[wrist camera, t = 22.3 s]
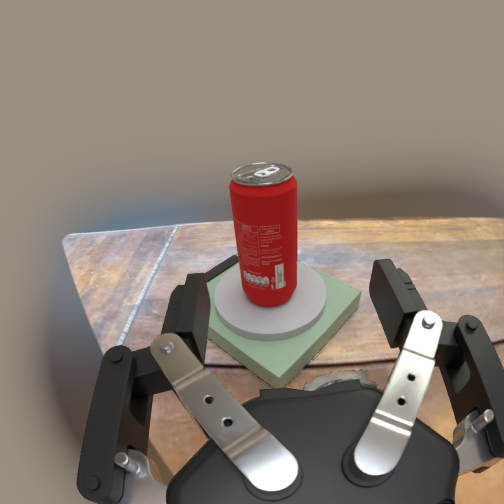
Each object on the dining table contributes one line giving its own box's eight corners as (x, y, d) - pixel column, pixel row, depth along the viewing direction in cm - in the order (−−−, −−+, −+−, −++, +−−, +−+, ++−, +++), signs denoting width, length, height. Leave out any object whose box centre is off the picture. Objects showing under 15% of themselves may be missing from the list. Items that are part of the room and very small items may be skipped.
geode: (396, 413, 20) (403, 404, 19) (312, 461, 18) (314, 455, 17) (354, 360, 26) (357, 348, 25) (275, 396, 24) (274, 386, 23)
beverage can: (232, 293, 30) (214, 175, 23) (269, 268, 33) (261, 157, 26) (270, 319, 27) (262, 191, 20) (307, 289, 29) (310, 169, 22)
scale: (256, 256, 40) (254, 234, 38) (358, 307, 31) (362, 283, 29) (176, 310, 33) (168, 288, 31) (279, 391, 24) (278, 371, 22)
